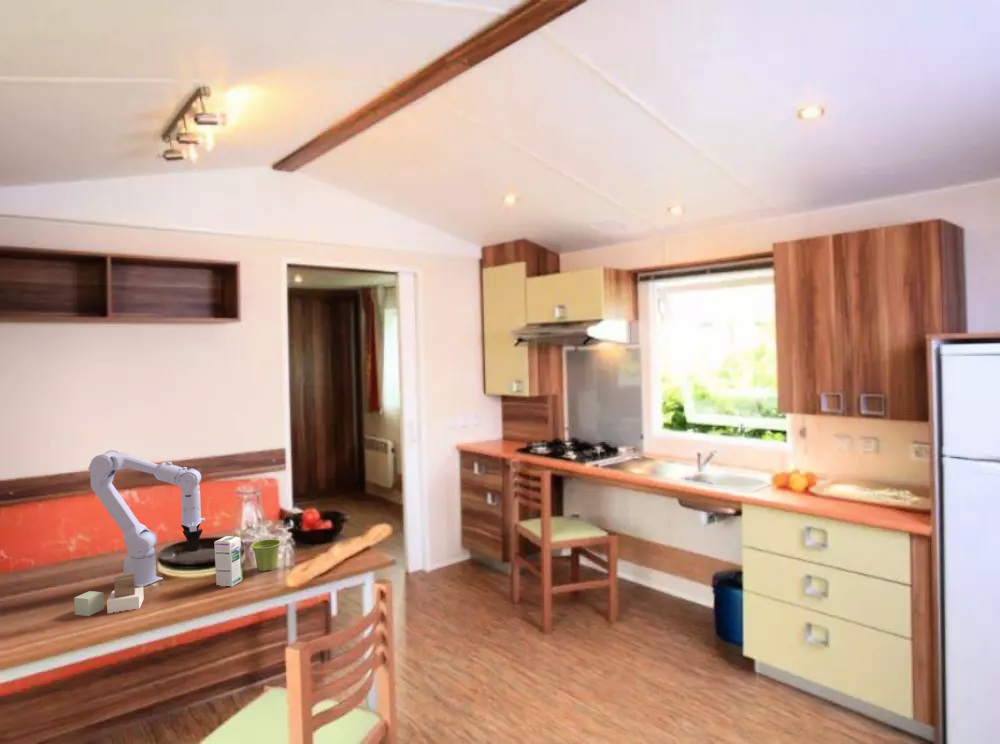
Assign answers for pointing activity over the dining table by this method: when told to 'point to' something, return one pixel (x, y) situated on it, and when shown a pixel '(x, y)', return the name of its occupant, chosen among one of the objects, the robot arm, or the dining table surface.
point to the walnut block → (124, 585)
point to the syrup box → (228, 561)
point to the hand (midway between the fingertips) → (192, 548)
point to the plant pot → (266, 554)
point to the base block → (125, 601)
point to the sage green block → (89, 603)
